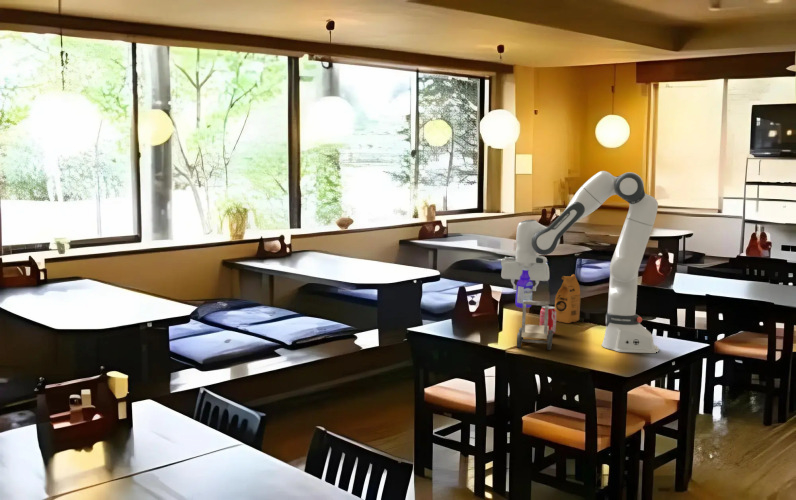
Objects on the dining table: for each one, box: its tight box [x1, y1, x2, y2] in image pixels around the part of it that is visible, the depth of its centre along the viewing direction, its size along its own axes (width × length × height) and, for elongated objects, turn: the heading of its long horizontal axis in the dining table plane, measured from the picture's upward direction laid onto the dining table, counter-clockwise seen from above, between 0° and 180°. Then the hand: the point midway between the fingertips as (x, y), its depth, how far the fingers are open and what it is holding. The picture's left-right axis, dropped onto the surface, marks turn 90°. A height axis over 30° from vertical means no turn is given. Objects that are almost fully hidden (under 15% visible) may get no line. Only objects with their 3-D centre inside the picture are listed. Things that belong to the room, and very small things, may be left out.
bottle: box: [514, 267, 534, 309], centre depth 335 cm, size 7×6×17 cm
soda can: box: [539, 305, 557, 335], centre depth 346 cm, size 7×7×12 cm
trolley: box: [516, 300, 554, 351], centre depth 322 cm, size 14×16×20 cm
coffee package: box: [554, 273, 581, 324], centre depth 376 cm, size 10×12×22 cm
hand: (524, 290), depth 335 cm, fingers closed on bottle, 7 cm apart
